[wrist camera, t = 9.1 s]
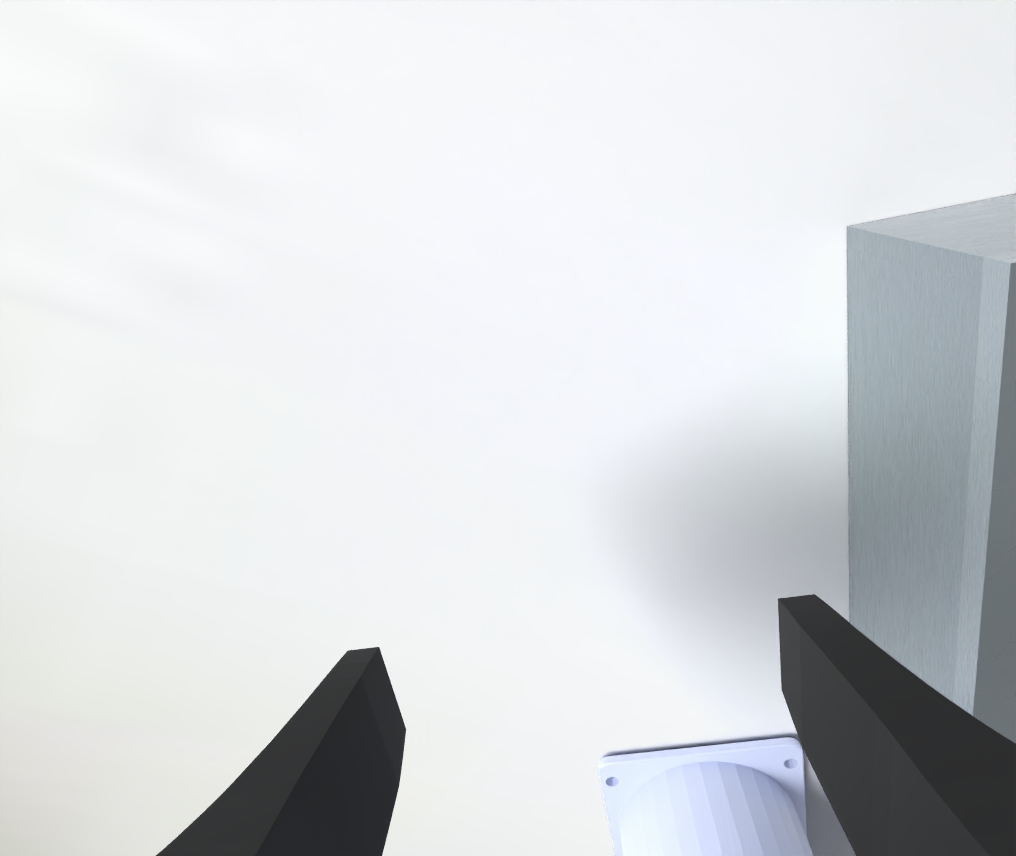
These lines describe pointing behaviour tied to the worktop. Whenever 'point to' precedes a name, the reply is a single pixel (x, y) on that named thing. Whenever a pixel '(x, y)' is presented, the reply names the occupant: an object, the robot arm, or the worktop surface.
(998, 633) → the cash box
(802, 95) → the worktop surface
